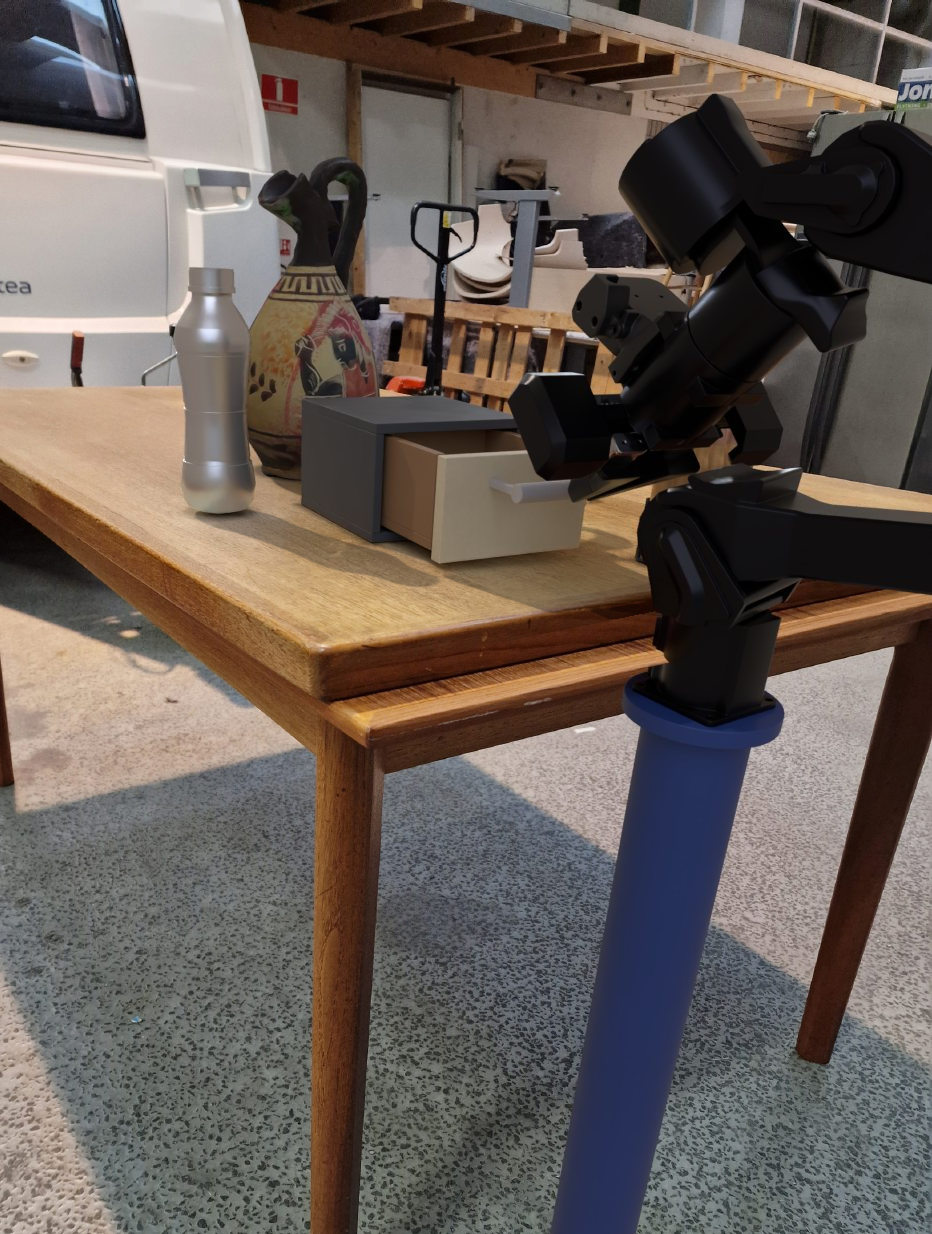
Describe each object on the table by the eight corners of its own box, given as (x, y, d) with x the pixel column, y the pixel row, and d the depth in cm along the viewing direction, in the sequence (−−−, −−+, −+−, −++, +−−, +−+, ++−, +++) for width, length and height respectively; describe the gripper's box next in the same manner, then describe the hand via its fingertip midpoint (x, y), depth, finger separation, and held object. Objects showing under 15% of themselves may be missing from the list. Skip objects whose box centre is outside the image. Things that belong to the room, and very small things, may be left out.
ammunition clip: (649, 566, 78) (675, 411, 73) (633, 559, 79) (658, 407, 74) (741, 552, 83) (772, 406, 78) (724, 547, 84) (754, 403, 79)
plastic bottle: (270, 514, 88) (269, 271, 79) (209, 524, 84) (199, 268, 75) (228, 500, 92) (222, 267, 83) (167, 510, 88) (154, 265, 79)
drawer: (616, 562, 75) (631, 460, 72) (471, 580, 69) (480, 470, 66) (487, 510, 89) (495, 422, 86) (358, 521, 83) (361, 427, 80)
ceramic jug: (294, 494, 96) (295, 141, 82) (207, 466, 106) (196, 148, 92) (416, 476, 106) (435, 161, 93) (327, 452, 116) (332, 165, 103)
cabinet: (515, 529, 87) (526, 418, 83) (371, 543, 80) (376, 423, 76) (432, 494, 98) (438, 395, 94) (300, 504, 92) (301, 398, 88)
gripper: (787, 234, 60) (638, 396, 74) (545, 215, 52) (427, 402, 65) (863, 383, 57) (694, 523, 71) (620, 389, 49) (481, 546, 63)
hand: (579, 496), depth 67 cm, fingers closed
